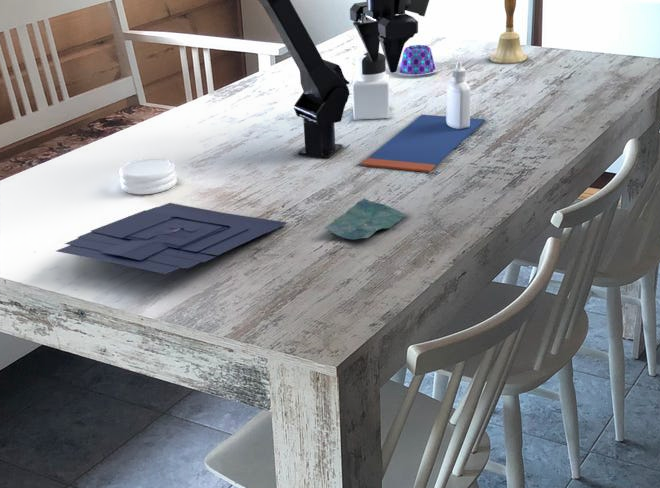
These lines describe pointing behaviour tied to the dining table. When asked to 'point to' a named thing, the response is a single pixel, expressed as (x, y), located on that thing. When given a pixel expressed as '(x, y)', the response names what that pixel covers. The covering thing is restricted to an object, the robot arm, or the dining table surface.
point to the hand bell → (509, 40)
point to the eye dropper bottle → (458, 100)
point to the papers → (169, 237)
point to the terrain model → (365, 220)
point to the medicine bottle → (370, 88)
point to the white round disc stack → (148, 176)
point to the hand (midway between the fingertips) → (383, 66)
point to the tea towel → (421, 144)
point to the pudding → (418, 61)
